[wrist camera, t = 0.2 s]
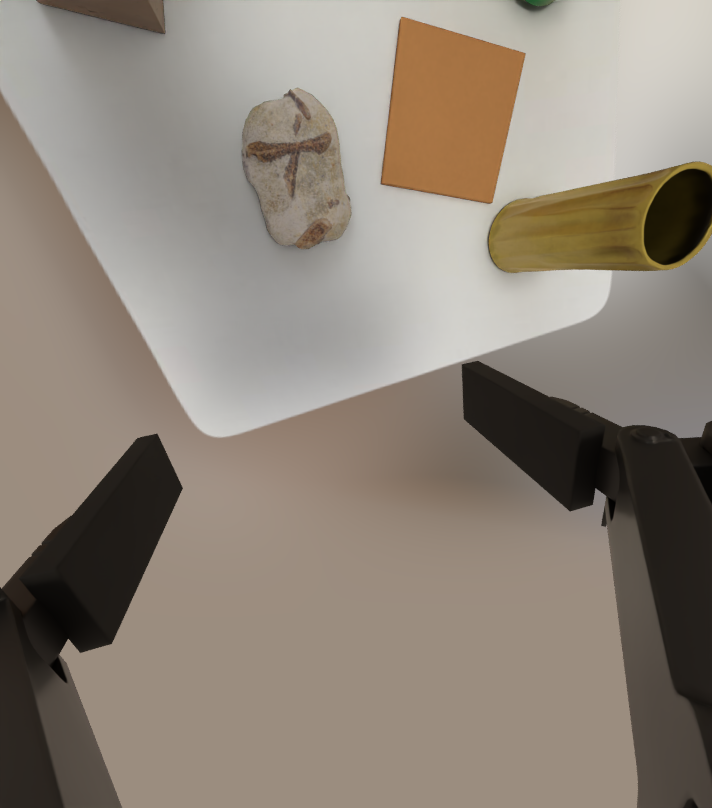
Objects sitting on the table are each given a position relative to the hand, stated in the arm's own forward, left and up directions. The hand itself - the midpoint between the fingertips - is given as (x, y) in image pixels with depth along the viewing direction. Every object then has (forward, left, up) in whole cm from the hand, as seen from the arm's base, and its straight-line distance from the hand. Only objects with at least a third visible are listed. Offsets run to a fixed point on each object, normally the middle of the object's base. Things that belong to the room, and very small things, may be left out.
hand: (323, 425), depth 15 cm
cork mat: (-21, 0, -18) cm, 28 cm away
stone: (-10, -7, -18) cm, 22 cm away
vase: (-19, +11, -18) cm, 29 cm away
